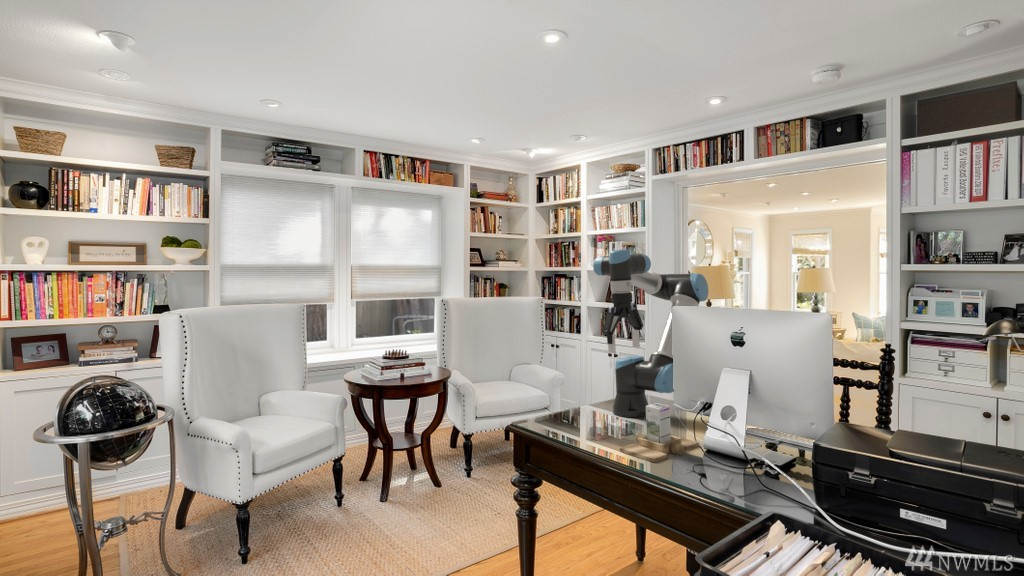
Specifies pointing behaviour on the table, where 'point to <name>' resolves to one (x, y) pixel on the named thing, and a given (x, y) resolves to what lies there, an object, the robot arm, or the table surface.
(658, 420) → the syrup box
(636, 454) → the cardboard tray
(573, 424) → the table surface
